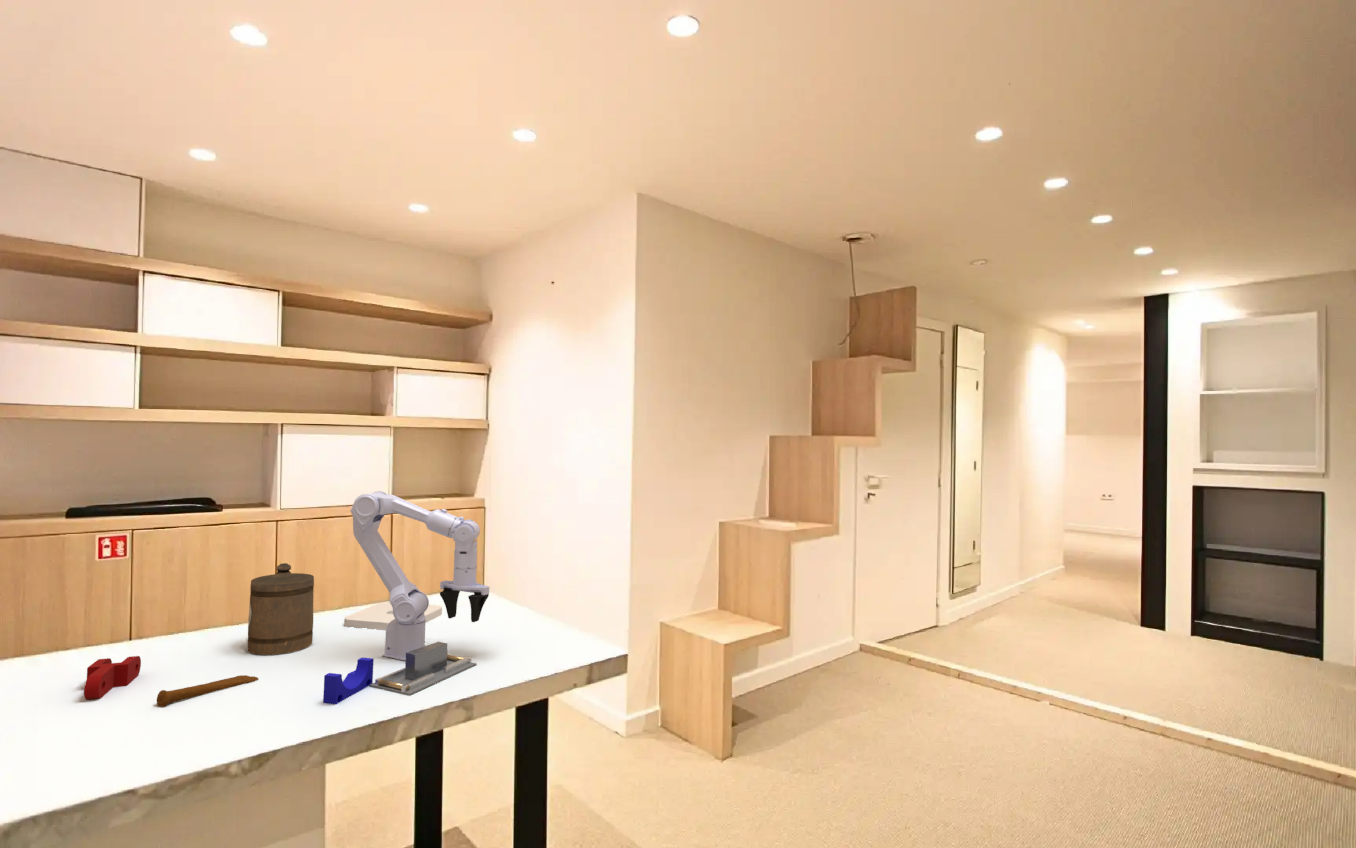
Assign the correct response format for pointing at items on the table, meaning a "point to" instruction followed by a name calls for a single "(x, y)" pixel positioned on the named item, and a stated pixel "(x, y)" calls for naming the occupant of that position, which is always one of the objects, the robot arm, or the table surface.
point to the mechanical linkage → (110, 676)
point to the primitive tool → (201, 689)
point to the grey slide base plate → (437, 678)
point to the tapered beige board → (383, 616)
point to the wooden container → (280, 612)
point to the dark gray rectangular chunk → (425, 660)
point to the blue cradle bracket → (348, 682)
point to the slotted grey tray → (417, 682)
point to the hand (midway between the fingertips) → (463, 619)
